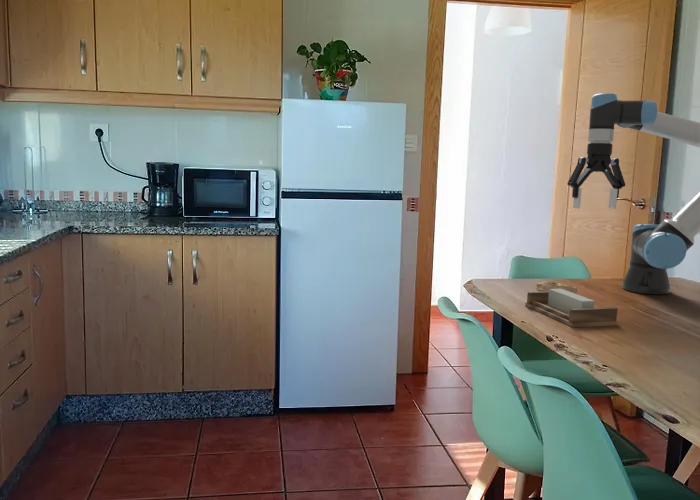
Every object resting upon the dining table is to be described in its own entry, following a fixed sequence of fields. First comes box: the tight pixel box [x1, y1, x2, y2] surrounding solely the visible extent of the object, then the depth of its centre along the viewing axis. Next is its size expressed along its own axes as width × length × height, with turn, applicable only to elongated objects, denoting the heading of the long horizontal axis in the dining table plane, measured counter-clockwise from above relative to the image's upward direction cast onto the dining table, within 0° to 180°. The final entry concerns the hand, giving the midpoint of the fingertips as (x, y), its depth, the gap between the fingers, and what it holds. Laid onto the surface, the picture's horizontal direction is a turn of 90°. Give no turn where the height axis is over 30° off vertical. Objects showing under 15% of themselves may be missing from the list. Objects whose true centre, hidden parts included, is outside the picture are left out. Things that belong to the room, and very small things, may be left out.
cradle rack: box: [524, 291, 619, 328], centre depth 176 cm, size 24×14×4 cm, turn 15°
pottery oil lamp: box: [535, 280, 578, 294], centre depth 199 cm, size 9×12×7 cm
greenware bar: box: [548, 289, 596, 314], centre depth 176 cm, size 4×16×5 cm, turn 15°
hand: (594, 208), depth 202 cm, fingers open, 13 cm apart
